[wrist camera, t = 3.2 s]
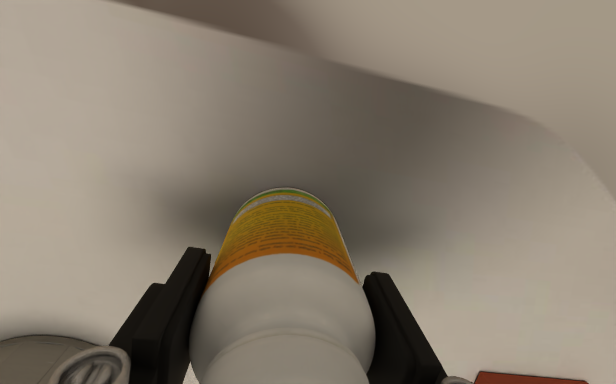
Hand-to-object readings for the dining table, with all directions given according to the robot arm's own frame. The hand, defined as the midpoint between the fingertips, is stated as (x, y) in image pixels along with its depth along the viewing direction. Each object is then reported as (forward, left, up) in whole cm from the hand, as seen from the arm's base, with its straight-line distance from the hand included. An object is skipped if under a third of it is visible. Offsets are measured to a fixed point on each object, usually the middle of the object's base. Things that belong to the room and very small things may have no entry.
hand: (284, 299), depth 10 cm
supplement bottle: (0, 0, -5) cm, 5 cm away
